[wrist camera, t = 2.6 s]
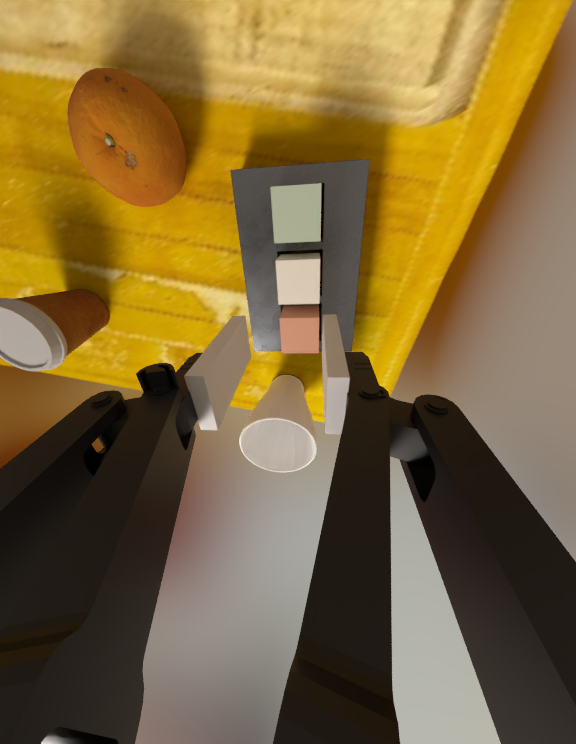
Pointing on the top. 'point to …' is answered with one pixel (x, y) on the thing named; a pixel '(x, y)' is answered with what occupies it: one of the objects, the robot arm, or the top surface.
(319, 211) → the key sage
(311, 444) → the cup
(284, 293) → the key cream
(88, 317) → the disposable coffee cup
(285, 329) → the key terracotta
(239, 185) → the panel
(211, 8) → the top surface
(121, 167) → the fruit
